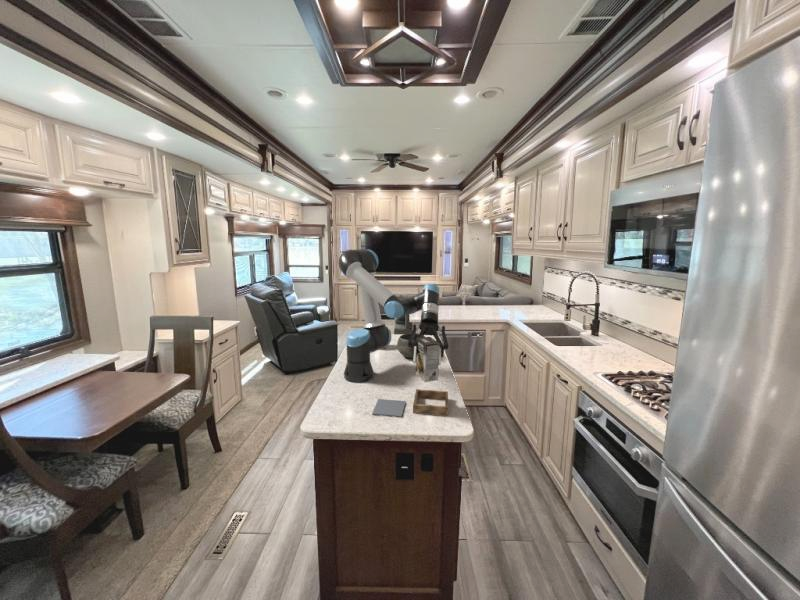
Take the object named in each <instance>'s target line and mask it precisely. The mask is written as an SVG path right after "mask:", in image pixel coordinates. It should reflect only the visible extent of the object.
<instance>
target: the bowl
mask: <svg viewBox="0 0 800 600" xmlns="http://www.w3.org/2000/svg"><path fill="white" fill-rule="evenodd" d="M411 333H412V332H409V333H404V334H401V335H400V336H399V337H398V339H397V344H396V346H397V351H398V352H399V353H400V354H401V355H402V356H404V357H406V358H409V359H413V358H414V355H412V354H411V350H412V348H411V347H408V341H409V338H410V336H411ZM419 334H420V333H417V332H416V334H415V336H414V339H413V341H412V344H413V342H414V341H415V339H416V338H417V336H418V335H419ZM423 337H426V335H424V336H423ZM416 349H417V345H416Z"/></svg>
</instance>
